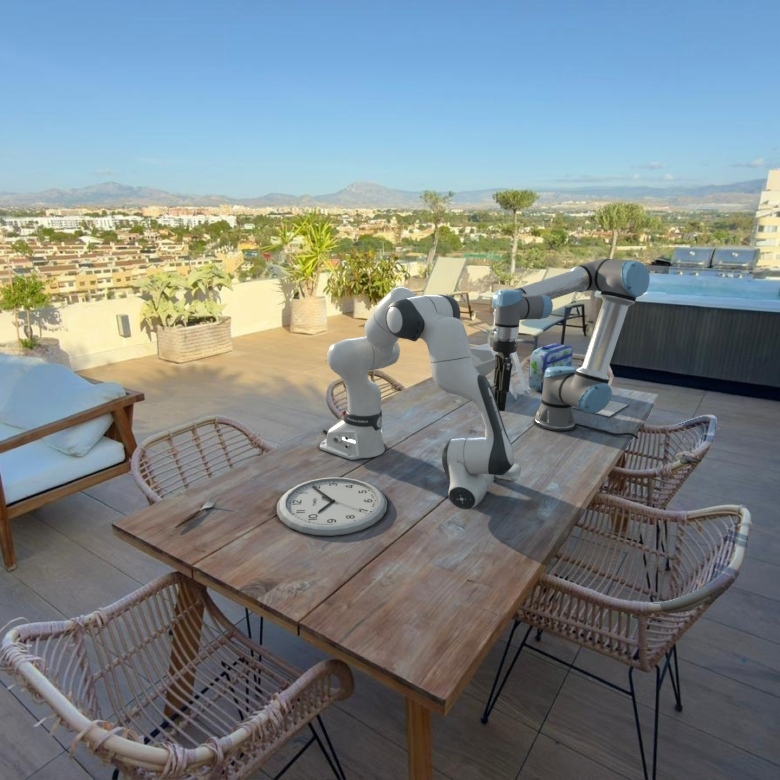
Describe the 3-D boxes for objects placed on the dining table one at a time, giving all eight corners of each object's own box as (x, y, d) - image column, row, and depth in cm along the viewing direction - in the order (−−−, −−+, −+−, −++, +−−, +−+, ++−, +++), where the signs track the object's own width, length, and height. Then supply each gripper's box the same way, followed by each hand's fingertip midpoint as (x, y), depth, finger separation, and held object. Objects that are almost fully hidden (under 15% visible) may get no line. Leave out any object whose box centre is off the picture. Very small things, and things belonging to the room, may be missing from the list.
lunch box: (544, 395, 239) (549, 351, 233) (524, 390, 247) (528, 347, 240) (571, 384, 257) (577, 343, 251) (552, 380, 264) (556, 339, 258)
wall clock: (392, 527, 129) (268, 531, 127) (391, 533, 130) (269, 537, 127) (383, 473, 158) (282, 475, 155) (383, 478, 158) (282, 480, 156)
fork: (171, 528, 130) (170, 521, 130) (212, 499, 145) (211, 492, 144) (179, 530, 129) (178, 523, 129) (220, 500, 144) (219, 494, 143)
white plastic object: (461, 429, 252) (437, 405, 227) (444, 352, 274) (420, 323, 250) (535, 404, 240) (518, 377, 215) (510, 326, 262) (492, 293, 237)
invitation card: (608, 416, 214) (573, 407, 224) (608, 416, 214) (573, 408, 224) (628, 404, 229) (594, 396, 238) (628, 405, 229) (594, 397, 238)
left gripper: (516, 471, 143) (527, 453, 154) (445, 457, 151) (460, 440, 163) (514, 492, 144) (525, 472, 156) (444, 476, 153) (459, 459, 165)
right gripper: (488, 333, 174) (482, 400, 181) (499, 344, 158) (493, 417, 165) (510, 334, 174) (504, 400, 181) (524, 344, 158) (516, 417, 165)
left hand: (491, 456), depth 160 cm, fingers closed on bottle, 5 cm apart
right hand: (498, 408), depth 173 cm, fingers closed on cap, 4 cm apart
